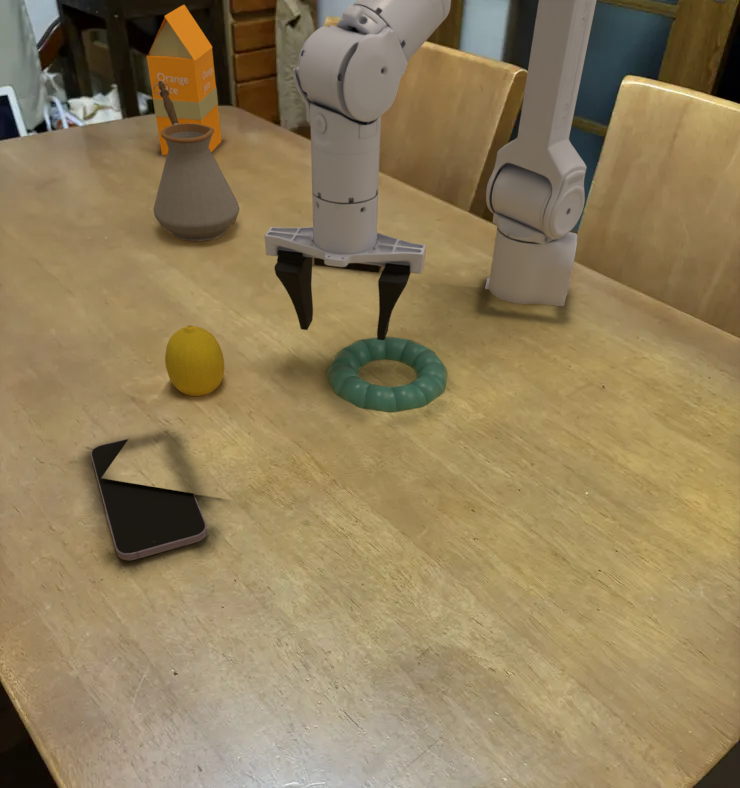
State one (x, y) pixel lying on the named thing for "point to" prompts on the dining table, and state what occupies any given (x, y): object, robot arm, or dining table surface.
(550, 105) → the robot arm
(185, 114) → the orange juice
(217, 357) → the lemon
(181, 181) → the coffee pot
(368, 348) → the hoop
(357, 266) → the peg stand
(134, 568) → the dining table surface
